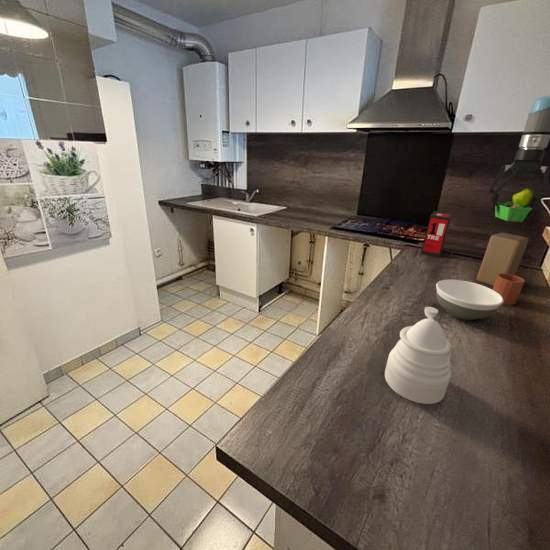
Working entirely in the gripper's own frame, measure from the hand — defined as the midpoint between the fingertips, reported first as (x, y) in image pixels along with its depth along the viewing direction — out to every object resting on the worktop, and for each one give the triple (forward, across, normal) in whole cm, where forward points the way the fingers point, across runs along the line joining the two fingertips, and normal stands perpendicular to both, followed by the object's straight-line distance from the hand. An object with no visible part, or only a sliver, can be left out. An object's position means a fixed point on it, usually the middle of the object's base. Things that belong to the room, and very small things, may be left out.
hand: (509, 213), depth 109 cm
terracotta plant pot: (+29, +6, -13) cm, 32 cm away
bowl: (+29, -4, -35) cm, 46 cm away
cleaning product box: (+29, -27, +32) cm, 51 cm away
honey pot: (+29, -8, -79) cm, 84 cm away
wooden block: (+29, +2, +4) cm, 30 cm away
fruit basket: (+2, +1, 0) cm, 2 cm away
